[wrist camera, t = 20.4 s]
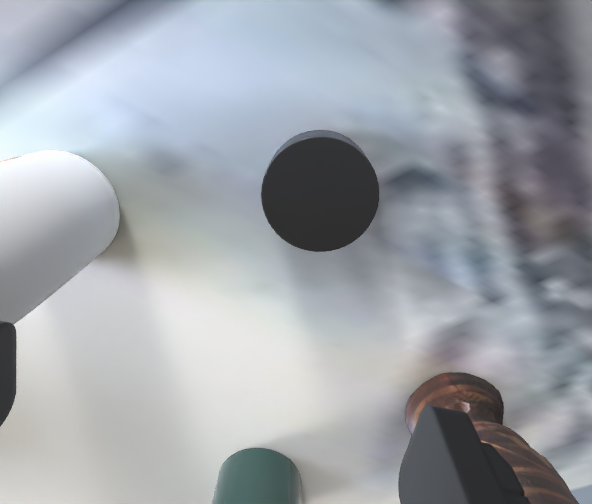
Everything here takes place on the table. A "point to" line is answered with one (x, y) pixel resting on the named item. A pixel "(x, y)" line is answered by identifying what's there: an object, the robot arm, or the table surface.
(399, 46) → the table surface
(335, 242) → the lid
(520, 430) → the table surface
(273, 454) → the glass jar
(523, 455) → the mortar and pestle
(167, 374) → the table surface
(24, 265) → the milk bottle
